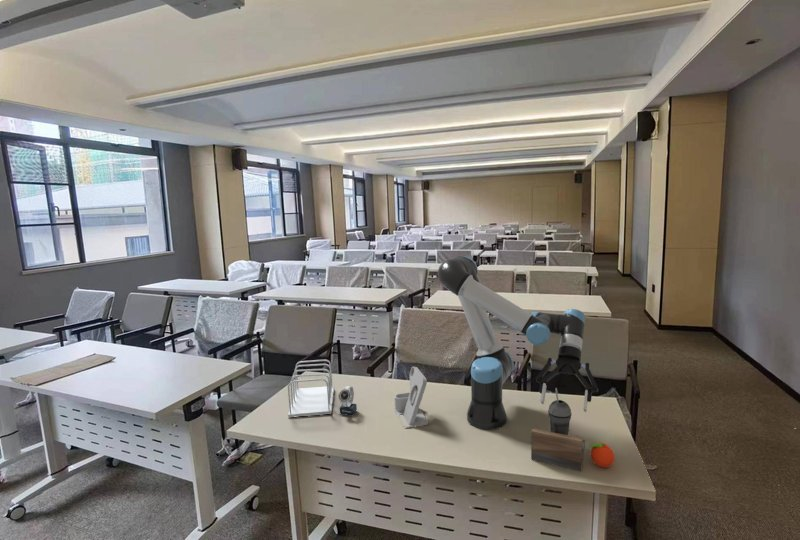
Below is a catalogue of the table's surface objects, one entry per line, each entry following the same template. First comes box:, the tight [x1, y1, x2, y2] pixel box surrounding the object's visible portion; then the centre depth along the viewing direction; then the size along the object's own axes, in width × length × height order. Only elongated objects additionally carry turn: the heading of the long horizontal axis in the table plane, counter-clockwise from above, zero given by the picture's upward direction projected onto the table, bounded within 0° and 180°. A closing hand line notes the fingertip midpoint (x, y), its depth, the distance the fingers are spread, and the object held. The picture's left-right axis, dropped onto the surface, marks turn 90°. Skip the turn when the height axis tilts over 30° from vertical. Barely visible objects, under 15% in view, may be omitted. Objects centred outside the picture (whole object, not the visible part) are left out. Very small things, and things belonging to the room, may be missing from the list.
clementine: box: [587, 442, 616, 468], centre depth 135 cm, size 8×7×7 cm
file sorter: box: [287, 359, 335, 418], centre depth 185 cm, size 25×17×16 cm
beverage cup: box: [547, 387, 573, 435], centre depth 141 cm, size 7×7×20 cm
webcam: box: [338, 385, 358, 416], centre depth 175 cm, size 6×8×11 cm
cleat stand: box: [530, 428, 586, 472], centre depth 142 cm, size 14×15×10 cm
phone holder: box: [394, 366, 429, 429], centre depth 170 cm, size 17×10×18 cm, turn 14°
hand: (563, 406), depth 144 cm, fingers open, 13 cm apart
